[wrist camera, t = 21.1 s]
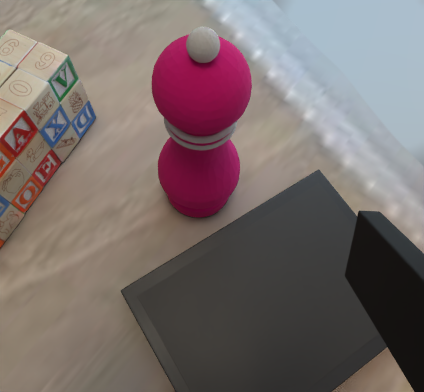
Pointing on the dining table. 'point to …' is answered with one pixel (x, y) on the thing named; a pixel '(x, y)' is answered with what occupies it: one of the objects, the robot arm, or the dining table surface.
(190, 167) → the pepper mill
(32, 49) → the stack of blocks
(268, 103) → the dining table surface
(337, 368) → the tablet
